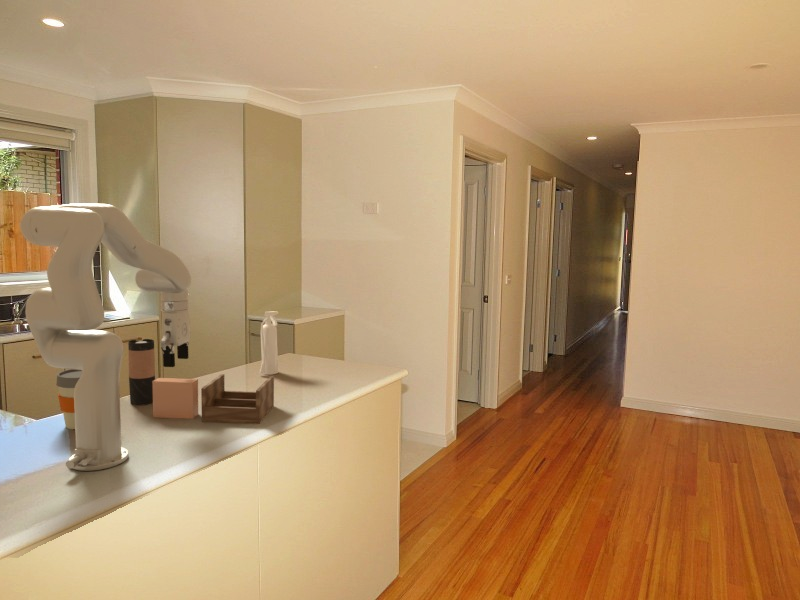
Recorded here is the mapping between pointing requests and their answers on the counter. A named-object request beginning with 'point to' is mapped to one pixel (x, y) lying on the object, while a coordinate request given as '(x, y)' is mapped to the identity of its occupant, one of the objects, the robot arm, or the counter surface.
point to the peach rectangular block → (175, 398)
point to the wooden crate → (236, 403)
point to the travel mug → (141, 371)
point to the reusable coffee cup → (68, 394)
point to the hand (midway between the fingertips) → (176, 362)
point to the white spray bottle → (269, 344)
